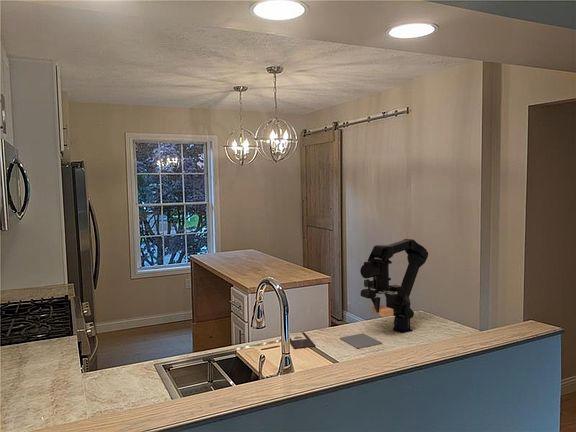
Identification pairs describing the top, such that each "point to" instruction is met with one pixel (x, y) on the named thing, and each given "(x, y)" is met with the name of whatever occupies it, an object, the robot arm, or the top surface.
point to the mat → (360, 340)
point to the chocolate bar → (300, 341)
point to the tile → (383, 311)
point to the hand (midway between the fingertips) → (382, 311)
